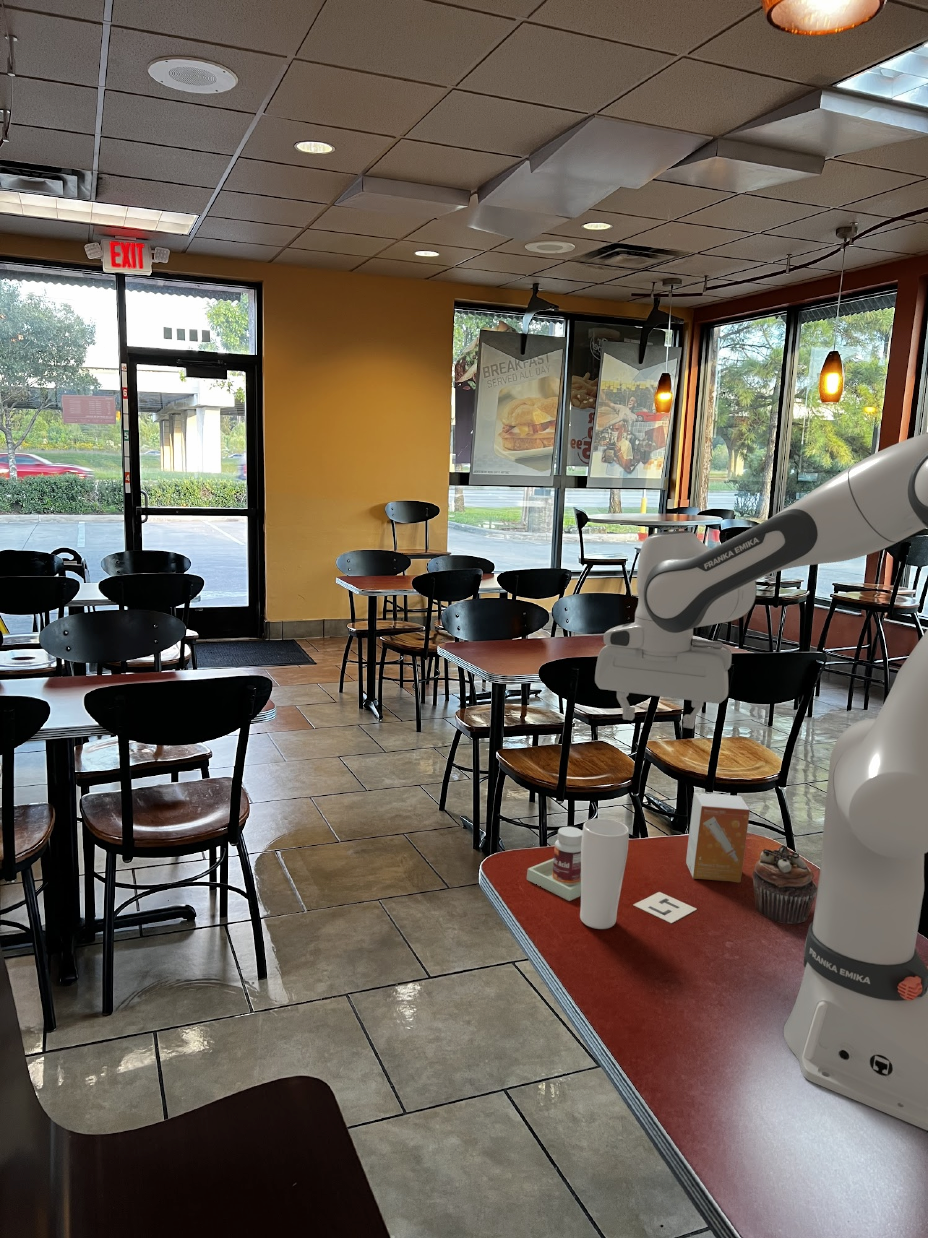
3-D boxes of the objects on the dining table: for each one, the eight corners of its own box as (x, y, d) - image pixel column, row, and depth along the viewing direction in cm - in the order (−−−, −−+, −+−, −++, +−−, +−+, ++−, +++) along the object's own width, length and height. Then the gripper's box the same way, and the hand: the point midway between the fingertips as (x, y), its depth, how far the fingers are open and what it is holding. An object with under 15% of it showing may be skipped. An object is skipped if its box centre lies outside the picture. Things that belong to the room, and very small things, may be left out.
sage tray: (605, 884, 149) (606, 874, 148) (569, 901, 142) (570, 889, 142) (562, 865, 155) (563, 854, 155) (526, 879, 149) (527, 868, 148)
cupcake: (792, 933, 137) (800, 870, 135) (736, 906, 144) (743, 846, 142) (826, 915, 143) (834, 855, 141) (771, 891, 150) (778, 833, 148)
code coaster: (697, 909, 142) (697, 908, 142) (671, 923, 137) (671, 922, 137) (659, 892, 147) (659, 891, 147) (633, 905, 142) (633, 904, 142)
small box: (692, 880, 152) (700, 805, 150) (685, 863, 158) (692, 791, 156) (741, 883, 152) (750, 809, 150) (732, 866, 158) (740, 795, 156)
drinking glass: (619, 913, 140) (627, 820, 137) (622, 935, 133) (631, 838, 130) (574, 908, 140) (582, 815, 137) (575, 931, 134) (583, 834, 131)
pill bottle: (545, 878, 149) (549, 830, 147) (565, 871, 152) (569, 823, 150) (567, 890, 145) (571, 840, 144) (587, 882, 148) (591, 833, 147)
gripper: (736, 639, 139) (729, 727, 141) (605, 626, 148) (601, 710, 150) (729, 646, 134) (722, 738, 136) (593, 632, 142) (589, 719, 144)
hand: (658, 723), depth 143 cm, fingers open, 8 cm apart
